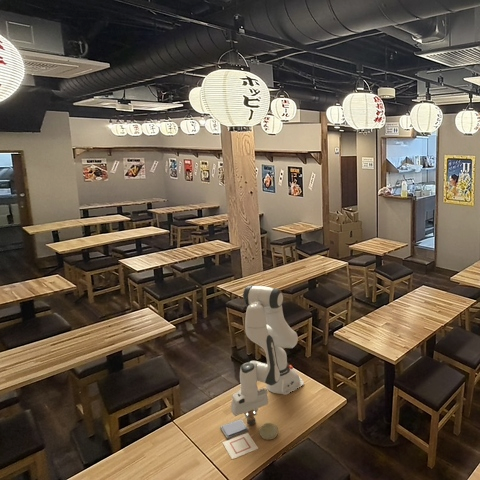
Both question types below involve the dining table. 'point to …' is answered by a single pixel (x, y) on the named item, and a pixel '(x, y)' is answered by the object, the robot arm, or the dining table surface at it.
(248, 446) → the sheet
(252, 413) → the stamp
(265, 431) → the sea urchin shell
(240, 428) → the ink pad
